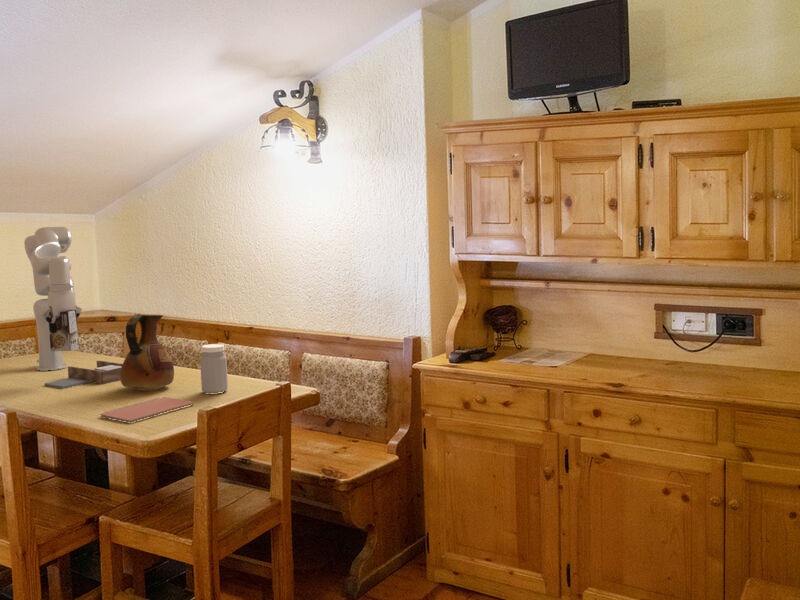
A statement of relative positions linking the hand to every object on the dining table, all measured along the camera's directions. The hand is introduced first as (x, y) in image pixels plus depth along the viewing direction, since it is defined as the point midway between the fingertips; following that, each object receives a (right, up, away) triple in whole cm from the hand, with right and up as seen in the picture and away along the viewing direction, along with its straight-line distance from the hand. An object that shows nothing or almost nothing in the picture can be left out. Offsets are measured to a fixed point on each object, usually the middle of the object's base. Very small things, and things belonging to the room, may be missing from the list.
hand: (63, 331), depth 303 cm
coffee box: (0, -8, +1) cm, 8 cm away
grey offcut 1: (+12, -21, +13) cm, 27 cm away
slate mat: (0, -22, +3) cm, 22 cm away
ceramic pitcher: (+37, -23, -8) cm, 44 cm away
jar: (+65, -23, -15) cm, 70 cm away
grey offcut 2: (+16, -21, +10) cm, 28 cm away
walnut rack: (+9, -20, +15) cm, 27 cm away
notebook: (+48, -27, -42) cm, 69 cm away
